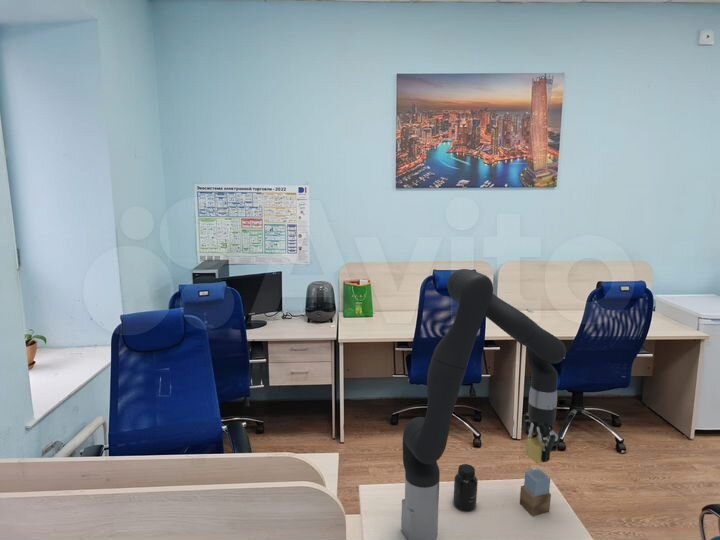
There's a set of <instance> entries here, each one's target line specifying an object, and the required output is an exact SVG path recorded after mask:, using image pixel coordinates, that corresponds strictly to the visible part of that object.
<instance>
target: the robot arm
mask: <svg viewBox="0 0 720 540" xmlns="http://www.w3.org/2000/svg"><path fill="white" fill-rule="evenodd" d="M446 286H447V291H448V293H449V296H450V297H451V299H453V301H455V302H457V303H458V308H457V310H456V315H455V317H454V320H453V323H452V325H451V327H450V329H448V331H447V332H446V333H445V334H444V336H442V338H441V339H440V341H439V342H438V343H437V344H436V346H435V348H434V351H433V353H432V355H431V360H430V363H429V366H428V370H427V375H426V376H427V377H426V389H427V390H426V391H427V394H426V395H427V408H426V412H425V416H417V417H414V418H412V419H410V421H408V422H407V423H406V425H405V426H404V430H403V433H402V463H403V469H404V473H405V474H404V475H405V479H404V480H405V482H404V498H403V499H401V516H400V517H401V519H400V520H401V522H400V523H401V525H400V526H401V527H400V530H401V532H402V533H403V535H404V537H405V539H406V540H437V539H438V530H439V528H438V527H439V526H438V525H439V524H438V523H439V500H440V499H439V497H440V496H439V495H440V479H441V477H440V475H441V473H440V468H439V467H440V466H439V465H438V462H437V461H438V460H439V459H440V458H441V457H442V456H443V454H444V452H445V450H446V447H447V445H448V444H447V443H448V438H449V432H450V428H451V423H452V418H453V414H454V410H455V406H456V405H457V400H458V396H459V393H460V391H461V386H462V384H463V381H464V379H465V375H466V371H467V367H468V366H469V365H468V364H469V361H470V357H471V354H472V351H473V348H474V345H475V343H476V340H477V336H478V334H479V330H480V327H481V325H482V323H483V321H484V319H485V317H486V318H487V319H488V320H489V321H491V322H492V323H493V324H495V325H496V326H497V327H498V328H500V329H501V330H502V331H503V332H504V333H506V334H507V335H508V336H509V337H511V338H512V339H514V340H515V341H516V342H518V343H519V344H520V345H523V346H524V347H527V348H528V349H527V352H528V353H527V354H528V360H529V365H530V370H531V378H530V379H531V380H530V388H529V393H528V395H529V396H528V406H527V408H528V410H527V413H525V414H523V415H522V421H523V433H524V435H527V439H530V438H535V437H539V441H540V442H541V444H542V455H541V461H542V463H548V462H550V461H549V460H550V452H552V453H553V452H557V449H558V446H559V443H560V440H561V434H560V433H556V432H555V430H554V426H553V423H554V422H555V421H556V417H557V407H558V406H557V404H558V381H559V378H558V377H559V374H558V373H559V372H558V371H557V370H556V368H555V367H554V366H553V365H552V364H558V363H561V362H562V361H563V360H564V359H565V357H566V354H567V350H566V346H565V343H563V341H562V340H561V339H559V338H558V337H556V336H555V335H554V334H553V333H550V332H549V331H547V330H545V329H544V328H542V327H541V326H540V325H538V323H536V321H534V320H533V319H531V318H530V317H529V316H528V315H526V314H525V313H523V312H522V311H521V310H520V309H517V308H516V307H514V306H513V305H511V304H509V303H507V302H506V301H505V300H503V299H502V298H500V297H499V296H498V295H496V294H494V285H493V281H492V279H491V278H490V277H489V276H488V275H485V274H483V273H481V272H478V271H475V270H473V269H471V268H470V269H468V268H461V269H457V270H455V271H454V272H453V273H451V275H450V276H449V278H448V279H447V284H446ZM528 427H529V429H528ZM543 438H544V439H543ZM546 442H547V445H548V446H546V444H545V443H546Z"/></svg>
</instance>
